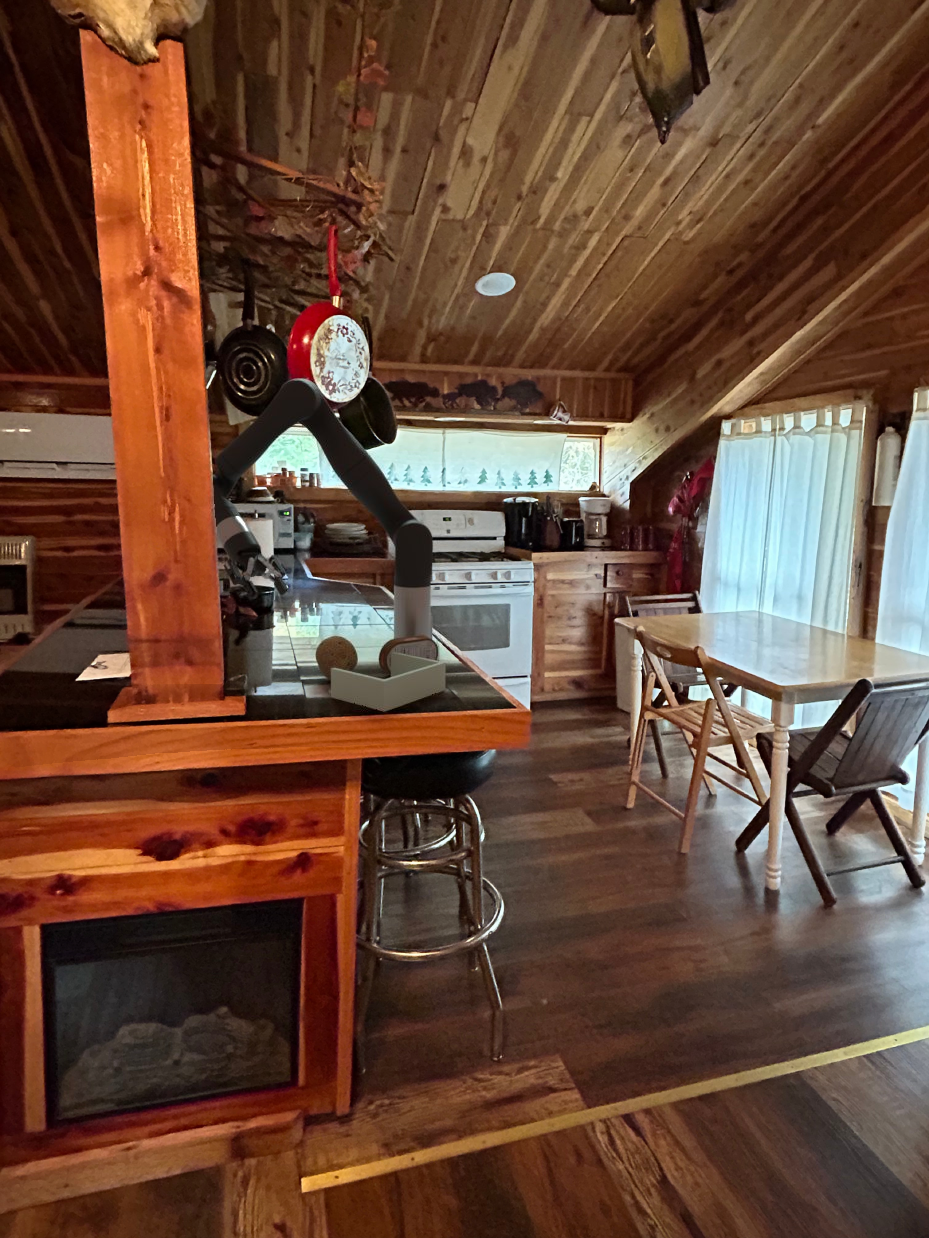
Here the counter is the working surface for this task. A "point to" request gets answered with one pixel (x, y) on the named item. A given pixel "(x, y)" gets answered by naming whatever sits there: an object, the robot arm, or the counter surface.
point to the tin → (407, 649)
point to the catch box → (390, 683)
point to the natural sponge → (336, 655)
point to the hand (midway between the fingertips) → (270, 594)
